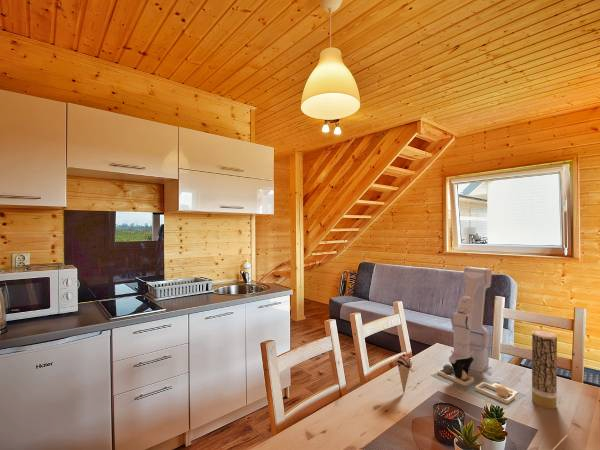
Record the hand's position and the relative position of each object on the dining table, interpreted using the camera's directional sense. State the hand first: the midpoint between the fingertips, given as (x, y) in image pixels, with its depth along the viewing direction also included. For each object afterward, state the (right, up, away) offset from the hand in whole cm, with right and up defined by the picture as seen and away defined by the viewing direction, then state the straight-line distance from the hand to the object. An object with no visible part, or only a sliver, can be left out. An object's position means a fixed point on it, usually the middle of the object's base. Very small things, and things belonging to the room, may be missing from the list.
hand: (461, 376), depth 126 cm
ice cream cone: (-26, -2, -9) cm, 28 cm away
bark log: (+21, -2, -16) cm, 26 cm away
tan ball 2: (+8, -2, -12) cm, 15 cm away
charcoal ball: (-3, -2, +5) cm, 6 cm away
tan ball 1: (0, -2, 0) cm, 2 cm away
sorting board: (+4, -2, -4) cm, 5 cm away
